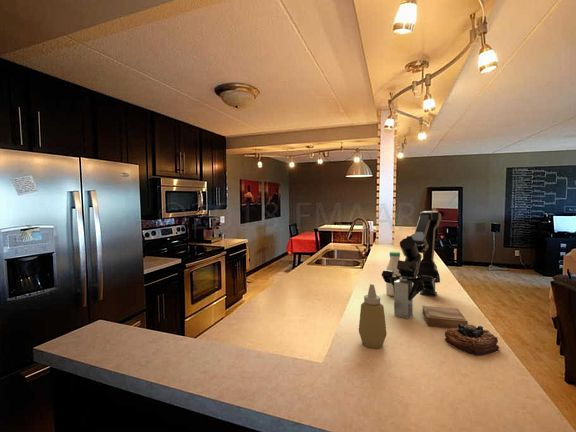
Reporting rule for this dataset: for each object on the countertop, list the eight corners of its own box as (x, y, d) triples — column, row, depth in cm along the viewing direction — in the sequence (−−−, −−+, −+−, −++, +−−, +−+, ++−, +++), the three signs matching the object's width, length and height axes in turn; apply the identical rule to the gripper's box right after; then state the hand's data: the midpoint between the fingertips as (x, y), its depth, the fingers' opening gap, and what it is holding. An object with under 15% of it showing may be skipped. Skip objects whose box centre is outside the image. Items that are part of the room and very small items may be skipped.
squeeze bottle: (356, 348, 81) (356, 287, 81) (360, 336, 89) (359, 280, 89) (386, 353, 78) (385, 289, 78) (387, 340, 86) (386, 282, 86)
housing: (399, 311, 109) (399, 275, 108) (412, 315, 105) (412, 277, 105) (394, 315, 105) (394, 278, 104) (407, 319, 102) (408, 280, 101)
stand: (422, 313, 107) (422, 305, 107) (458, 316, 103) (457, 308, 103) (427, 326, 96) (427, 316, 96) (467, 330, 92) (467, 320, 92)
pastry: (505, 351, 79) (505, 331, 79) (473, 359, 75) (473, 337, 75) (468, 334, 89) (468, 316, 89) (439, 341, 85) (439, 322, 85)
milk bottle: (404, 297, 126) (404, 253, 125) (386, 296, 128) (386, 253, 128) (403, 292, 133) (403, 251, 133) (386, 291, 136) (385, 250, 135)
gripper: (383, 250, 114) (371, 282, 106) (433, 254, 101) (424, 291, 93) (390, 266, 120) (380, 298, 112) (438, 272, 107) (430, 308, 99)
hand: (402, 298), depth 104 cm, fingers closed on housing, 5 cm apart
